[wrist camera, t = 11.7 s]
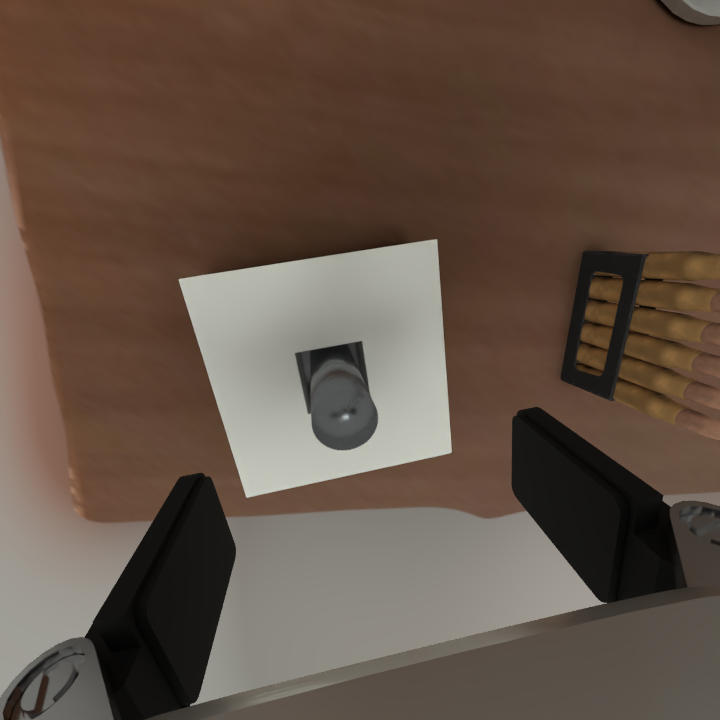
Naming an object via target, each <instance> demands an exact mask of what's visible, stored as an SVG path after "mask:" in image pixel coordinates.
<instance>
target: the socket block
mask: <svg viewBox="0 0 720 720" xmlns="http://www.w3.org/2000/svg"><path fill="white" fill-rule="evenodd" d="M178 280H179V283H180V286H181V289H182V292H183V296H184V299H185V302H186V305H187V308H188V312H189V315H190V318H191V321H192V325H193V328H194V331H195V334H196V337H197V341H198V344H199V347H200V350H201V353H202V357H203V360H204V363H205V366H206V369H207V373H208V376H209V379H210V382H211V385H212V389H213V392H214V395H215V398H216V401H217V405H218V408H219V411H220V414H221V417H222V421H223V424H224V427H225V430H226V434H227V437H228V440H229V443H230V446H231V450H232V453H233V456H234V459H235V462H236V466H237V469H238V472H239V475H240V478H241V482H242V485H243V488H244V491H245V494H246V498H247V497H252V496H257V495H261V494H266V493H270V492H275V491H279V490H284V489H289V488H293V487H298V486H302V485H307V484H312V483H316V482H321V481H325V480H330V479H334V478H339V477H344V476H348V475H353V474H357V473H362V472H367V471H371V470H376V469H380V468H385V467H389V466H394V465H399V464H403V463H408V462H412V461H417V460H422V459H426V458H431V457H435V456H440V455H444V454H449V453H452V450H451V435H450V420H449V406H448V391H447V377H446V362H445V347H444V333H443V318H442V304H441V289H440V274H439V260H438V245H437V239H434V240H427V241H420V242H414V243H407V244H400V245H394V246H387V247H381V248H374V249H368V250H362V251H355V252H349V253H342V254H336V255H329V256H323V257H316V258H310V259H303V260H297V261H290V262H284V263H278V264H271V265H265V266H258V267H252V268H245V269H239V270H232V271H226V272H219V273H213V274H207V275H201V276H195V277H188V278H182V279H178ZM342 344H347V346H348V347H349V349H350V351H351V354H352V356H353V358H354V360H355V362H356V365H357V367H358V369H359V371H360V373H361V376H362V378H363V380H364V382H365V384H366V387H367V389H368V391H369V393H370V395H371V398H372V400H373V402H374V404H375V406H376V409H377V412H378V424H377V428H376V430H375V432H374V434H373V435H372V437H371V438H370V439H369V440H368V441H367V442H366V443H364V444H363V445H361V446H359V447H357V448H355V449H351V450H343V451H342V450H334V449H331V448H328V447H326V446H325V445H323V444H322V443H321V442H320V441H319V440H318V439H317V438H316V436H315V435H314V433H313V430H312V425H311V383H310V352H311V350H314V349H320V348H325V347H331V346H336V345H342Z"/></svg>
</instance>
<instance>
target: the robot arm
mask: <svg viewBox="0 0 720 720" xmlns="http://www.w3.org/2000/svg"><path fill="white" fill-rule="evenodd" d="M661 1H662V2H663V3H664V4H665V5H666V6H667V7H668V8H669V9H670V10H671V11H672V13H674V14H675V15H677V16H679V17H680V18H682V19H684V20H685V21H688V22H692V23H696V24H699V25H717V24H720V0H661ZM512 490H513V492H514V495H515V496H516V498H517V499H518V500H519V502H520V503H521V504H522V505H523V507H524V508H525V509H526V510H527V512H528V513H529V514H530V515H531V517H532V518H533V519H534V520H535V522H536V523H537V524H538V525H539V527H540V528H541V529H542V530H543V531H544V533H545V534H546V535H547V536H548V538H549V539H550V540H551V541H552V543H553V544H554V545H555V546H556V548H557V549H558V550H559V551H560V553H561V554H562V555H563V556H564V558H565V559H566V560H567V561H568V563H569V564H570V565H571V566H572V567H573V569H574V570H575V571H576V572H577V574H578V575H579V576H580V578H581V579H582V580H583V581H584V582H585V584H586V585H587V586H588V587H589V589H590V590H591V591H592V592H593V594H594V595H595V596H596V597H597V598H598V599H599V600H600V601H601V602H604V603H606V602H607V604H602V605H598V606H593V607H589V608H585V609H581V610H576V611H572V612H568V613H564V614H560V615H555V616H552V617H547V618H543V619H539V620H534V621H530V622H526V623H522V624H518V625H514V626H509V627H505V628H501V629H497V630H493V631H488V632H484V633H480V634H476V635H472V636H468V637H463V638H459V639H455V640H451V641H447V642H443V643H439V644H435V645H430V646H427V647H422V648H419V649H414V650H410V651H406V652H402V653H398V654H394V655H390V656H386V657H382V658H378V659H373V660H369V661H366V662H361V663H357V664H353V665H349V666H345V667H341V668H337V669H333V670H329V671H325V672H321V673H317V674H314V675H309V676H305V677H302V678H297V679H293V680H289V681H286V682H281V683H277V684H273V685H269V686H265V687H261V688H257V689H253V690H249V691H245V692H241V693H238V694H234V695H230V696H227V697H223V698H219V699H216V700H212V701H208V702H204V703H201V704H198V705H193V706H190V704H192V703H195V702H196V701H197V699H198V697H199V693H200V690H201V687H202V683H203V679H204V675H205V671H206V667H207V664H208V660H209V656H210V652H211V649H212V645H213V641H214V637H215V633H216V629H217V626H218V622H219V618H220V614H221V610H222V607H223V603H224V599H225V595H226V591H227V588H228V584H229V580H230V576H231V572H232V568H233V565H234V561H235V556H236V547H235V543H234V540H233V537H232V535H231V532H230V529H229V526H228V523H227V520H226V518H225V515H224V512H223V509H222V506H221V504H220V501H219V498H218V495H217V492H216V490H215V487H214V484H213V481H212V479H211V478H210V477H209V476H208V477H205V475H204V474H203V473H197V474H192V475H187V476H182V477H180V478H179V479H178V481H177V482H176V484H175V486H174V487H173V489H172V491H171V492H170V494H169V496H168V497H167V499H166V501H165V502H164V504H163V506H162V507H161V509H160V511H159V512H158V514H157V516H156V517H155V519H154V521H153V522H152V524H151V526H150V527H149V529H148V531H147V532H146V534H145V536H144V537H143V539H142V541H141V542H140V544H139V546H138V547H137V549H136V551H135V553H134V554H133V556H132V558H131V559H130V561H129V563H128V564H127V566H126V567H125V569H124V571H123V573H122V574H121V576H120V578H119V579H118V581H117V583H116V584H115V586H114V588H113V589H112V591H111V592H110V594H109V596H108V598H107V599H106V601H105V602H104V604H103V606H102V607H101V609H100V611H99V612H98V614H97V616H96V617H95V619H94V621H93V624H92V626H91V627H90V629H89V631H88V633H87V634H86V636H85V638H83V637H79V638H72V639H69V640H66V641H64V642H62V643H59V644H57V645H55V646H54V647H52V648H51V649H49V650H47V651H46V652H44V653H42V654H41V655H40V656H39V657H37V658H36V659H35V660H34V661H33V662H31V663H30V664H29V665H28V666H27V667H26V668H25V669H24V670H23V671H22V672H21V673H20V674H19V675H18V676H17V677H16V678H15V679H14V680H13V681H12V682H11V684H10V685H9V686H8V688H7V689H6V690H5V692H4V693H3V694H2V695H1V697H0V720H720V506H716V505H713V504H709V503H705V502H698V501H682V502H679V503H676V504H674V505H673V506H672V507H670V506H669V505H667V504H666V503H664V502H663V501H662V499H663V495H662V494H661V493H659V492H658V491H656V490H655V489H654V488H652V487H651V486H649V485H648V484H646V483H645V482H644V481H642V480H641V479H639V478H638V477H637V476H635V475H634V474H632V473H631V472H630V471H628V470H627V469H625V468H624V467H623V466H621V465H620V464H618V463H617V462H615V461H614V460H613V459H611V458H610V457H608V456H607V455H606V454H604V453H603V452H601V451H600V450H599V449H597V448H596V447H594V446H593V445H592V444H590V443H589V442H587V441H586V440H584V439H583V438H582V437H580V436H579V435H577V434H576V433H575V432H573V431H572V430H570V429H569V428H568V427H566V426H565V425H563V424H562V423H561V422H559V421H558V420H556V419H555V418H553V417H552V416H551V415H549V414H548V413H546V412H545V411H544V410H542V409H541V408H539V407H534V408H529V409H524V410H519V411H518V412H517V416H514V417H513V420H512Z"/></svg>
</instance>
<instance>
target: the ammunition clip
mask: <svg viewBox="0 0 720 720" xmlns="http://www.w3.org/2000/svg"><path fill="white" fill-rule="evenodd" d="M613 276H615V277H622V278H612V277H613ZM641 278H645V280H641ZM663 279H669V280H687V281H697V280H706V279H720V254H713V253H708V252H612V251H585V252H583V256H582V261H581V267H580V272H579V278H578V283H577V289H576V295H575V300H574V306H573V311H572V317H571V322H570V328H569V333H568V339H567V345H566V350H565V356H564V361H563V367H562V372H561V380H562V381H564V382H567V383H569V384H572V385H574V386H576V387H579V388H581V389H584V390H586V391H588V392H591V393H593V394H596V395H598V396H600V397H603V398H605V399H608V400H610V401H614V400H616V401H618V402H620V403H622V404H625V405H627V406H629V407H631V408H633V409H635V410H638V411H640V412H642V413H644V414H646V415H648V416H651V417H654V418H657V419H661V420H665V421H667V422H670V423H672V424H675V425H677V426H681V427H683V428H685V429H687V430H690V431H692V432H695V433H698V434H701V435H703V436H706V437H710V438H713V439H717V440H720V423H719V422H718V421H716V420H714V419H712V418H710V417H708V416H706V415H704V414H702V413H699V412H697V411H695V410H692V409H690V408H689V407H686V406H684V405H682V404H680V403H677V402H676V401H674V400H672V399H671V398H669V397H667V396H666V395H663V394H668V395H673V396H676V397H679V398H682V399H685V400H689V401H692V402H695V403H698V404H701V405H704V406H708V407H711V408H715V409H719V410H720V389H718V388H715V387H713V386H710V385H707V384H704V383H701V382H698V381H697V380H694V379H691V378H688V377H686V376H683V375H682V374H680V373H678V372H676V371H674V370H672V369H669V368H666V367H670V368H678V369H683V370H687V371H691V372H696V373H701V374H704V375H708V376H712V377H717V378H720V356H716V355H712V354H709V353H706V352H703V351H700V350H696V349H693V348H690V347H688V346H686V345H684V344H681V343H678V342H674V341H670V340H666V339H661V338H657V337H653V336H658V337H662V338H667V339H672V340H678V341H693V342H699V343H705V344H712V345H717V346H720V324H719V323H716V322H711V321H706V320H701V319H698V318H696V317H693V316H690V315H686V314H680V313H674V312H667V311H661V310H655V309H656V308H663V309H671V310H678V311H706V312H720V289H716V288H708V287H705V286H701V285H696V284H690V283H677V282H663ZM607 301H613V302H619V303H618V304H616V303H610V302H607ZM635 305H640V306H639V307H635ZM602 324H603V325H602ZM606 325H608V326H606ZM610 326H612V327H610ZM629 330H631V331H629ZM632 331H633V332H632ZM649 335H653V336H649ZM624 354H625V355H624ZM627 355H628V356H627ZM643 360H644V361H643ZM647 361H648V362H647ZM650 362H651V363H650ZM653 363H654V364H653ZM656 364H658V365H656ZM659 365H661V366H659ZM662 366H665V367H662ZM661 393H663V394H661Z"/></svg>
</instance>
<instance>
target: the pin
mask: <svg viewBox="0 0 720 720" xmlns="http://www.w3.org/2000/svg"><path fill="white" fill-rule="evenodd" d="M310 383H311V425H312V430H313V433H314V435H315V436H316V438H317V439H318V440H319V441H320V442H321V443H322V444H323V445H325V446H326V447H328V448H331V449H334V450H342V451H343V450H351V449H355V448H357V447H359V446H361V445H363V444H364V443H366V442H367V441H368V440H369V439H370V438H371V437H372V435H373V434H374V432H375V430H376V428H377V424H378V412H377V409H376V406H375V404H374V402H373V400H372V398H371V395H370V393H369V391H368V389H367V387H366V384H365V382H364V380H363V378H362V376H361V373H360V371H359V369H358V367H357V365H356V362H355V360H354V358H353V356H352V354H351V351H350V349H349V347H348V346H347V344H342V345H336V346H331V347H325V348H320V349H314V350H311V352H310Z"/></svg>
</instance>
